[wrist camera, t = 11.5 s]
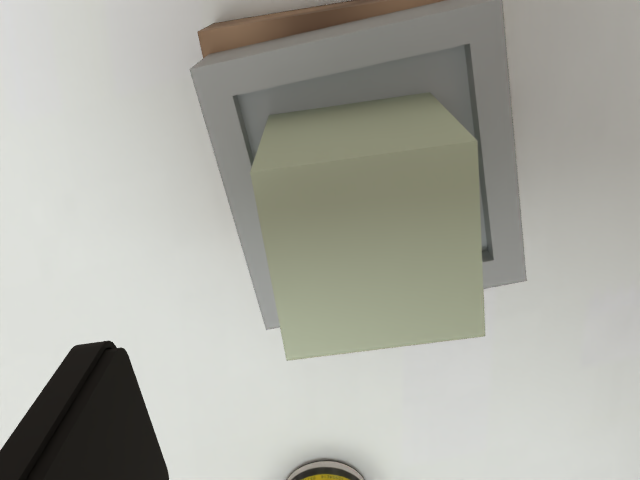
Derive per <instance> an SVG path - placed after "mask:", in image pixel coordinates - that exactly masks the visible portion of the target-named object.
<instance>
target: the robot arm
mask: <svg viewBox="0 0 640 480" xmlns="http://www.w3.org/2000/svg"><path fill="white" fill-rule="evenodd" d="M0 480H169V475H168V470H167V467H166V464H165V461H164V458H163V455H162V452H161V449H160V446H159V443H158V441H157V438H156V435H155V432H154V429H153V426H152V423H151V420H150V417H149V414H148V411H147V408H146V406H145V403H144V400H143V397H142V394H141V391H140V388H139V385H138V382H137V379H136V376H135V374H134V371H133V368H132V365H131V362H130V359H129V356H128V354H127V352H126V350H125V349H123V348H116V346H115V345H114V343H113V342H111V341H103V342H96V343H89V344H81V345H76V346H74V347H73V348H72V349H71V350H70V352H69V353H68V355H67V356H66V357H65V359H64V360H63V362H62V363H61V365H60V366H59V367H58V369H57V370H56V372H55V373H54V375H53V376H52V377H51V379H50V380H49V382H48V383H47V385H46V386H45V387H44V389H43V390H42V392H41V393H40V395H39V396H38V397H37V399H36V400H35V402H34V403H33V405H32V406H31V407H30V409H29V410H28V412H27V413H26V415H25V416H24V417H23V419H22V420H21V422H20V423H19V425H18V426H17V427H16V429H15V430H14V432H13V433H12V435H11V436H10V437H9V439H8V440H7V442H6V443H5V445H4V446H3V447H2V449H1V450H0Z"/></svg>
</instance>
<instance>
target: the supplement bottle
mask: <svg viewBox="0 0 640 480" xmlns="http://www.w3.org/2000/svg"><path fill="white" fill-rule="evenodd" d="M287 480H364V479H363V478H362V477H361V475H360V474H359V473H358V472H357V471H356V470H354V469H353V468H351V467H349V466H347V465H345V464H342V463H338V462H332V461H321V462H315V463H311V464H307V465H305V466H303V467H301V468H299V469H297V470H296V471H295V472H294V473H292V474H291V475H290V477H289V478H288V479H287Z"/></svg>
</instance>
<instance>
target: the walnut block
mask: <svg viewBox="0 0 640 480" xmlns="http://www.w3.org/2000/svg"><path fill="white" fill-rule="evenodd" d="M441 1H445V0H353V1H347V2H341V3H335V4H329V5H322V6H316V7H310V8H304V9H298V10H292V11H286V12H280V13H274V14H268V15H262V16H256V17H250V18H243V19H237V20H231V21H225V22H219V23H214V24H212V25H210V26H208V27H206V28H204V29H202V30H200V31H198V36H199V41H200V45H201V50H202V54H203V59H204V58H205V57H206V56H207V55H209V54H212V53H217V52H221V51H225V50H230V49H234V48H239V47H243V46H247V45H252V44H256V43H261V42H265V41H269V40H274V39H278V38H283V37H287V36H291V35H296V34H300V33H304V32H309V31H313V30H318V29H322V28H326V27H331V26H335V25H340V24H344V23H348V22H353V21H357V20H362V19H366V18H370V17H375V16H379V15H384V14H388V13H392V12H397V11H401V10H405V9H410V8H414V7H419V6H423V5H427V4H432V3H436V2H441Z"/></svg>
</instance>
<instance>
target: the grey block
mask: <svg viewBox="0 0 640 480" xmlns="http://www.w3.org/2000/svg"><path fill="white" fill-rule="evenodd" d="M190 72H191V76H192V79H193V83H194V86H195V89H196V93H197V96H198V100H199V103H200V106H201V110H202V113H203V117H204V120H205V123H206V127H207V130H208V134H209V137H210V140H211V144H212V147H213V151H214V154H215V157H216V161H217V164H218V168H219V171H220V174H221V178H222V181H223V185H224V188H225V191H226V195H227V198H228V202H229V205H230V208H231V212H232V215H233V219H234V222H235V225H236V229H237V232H238V236H239V239H240V242H241V246H242V249H243V253H244V256H245V259H246V263H247V266H248V270H249V273H250V276H251V280H252V283H253V287H254V290H255V293H256V297H257V300H258V304H259V307H260V310H261V314H262V317H263V321H264V324H265V327H266V330H268V329H274V328H279V327H280V324H279V319H278V314H277V309H276V303H275V298H274V293H273V288H272V283H271V278H270V273H269V267H268V262H267V257H266V252H265V247H264V242H263V237H262V232H261V226H260V221H259V216H258V211H257V206H256V201H255V196H254V190H253V185H252V180H251V175H250V171H251V168H252V165H253V162H254V159H255V156H256V153H257V150H258V147H259V144H260V141H261V138H262V135H263V132H264V129H265V126H266V123H267V120H268V117H269V115H274V114H281V113H288V112H295V111H302V110H309V109H316V108H323V107H330V106H337V105H344V104H351V103H358V102H365V101H372V100H379V99H386V98H393V97H400V96H407V95H414V94H421V93H428V92H430V93H431V94H432V95H433V96H434V97H435V98H436V99H437V100H438V101H439V102H440V103H441V104H442V105H443V106H444V107H445V108H446V109H447V110H448V111H449V112H450V113H451V114H452V115H453V116H454V117H455V118H456V119H457V120H458V121H459V122H460V123H461V124H462V125H463V126H464V127H465V129H466V130H467V131H468V132H469V133H470V134H471V135H472V136H473V137H474V138H475V139H476V140H477V141H478V164H479V190H480V216H481V242H482V268H483V289H485V288H491V287H496V286H501V285H507V284H512V283H517V282H523V281H527V278H526V267H525V255H524V244H523V232H522V221H521V210H520V198H519V187H518V176H517V164H516V153H515V141H514V130H513V119H512V107H511V96H510V84H509V73H508V62H507V50H506V39H505V27H504V16H503V5H502V0H445V1H441V2H436V3H432V4H427V5H423V6H419V7H414V8H410V9H405V10H401V11H397V12H392V13H388V14H384V15H379V16H375V17H370V18H366V19H362V20H357V21H353V22H348V23H344V24H340V25H335V26H331V27H326V28H322V29H318V30H313V31H309V32H304V33H300V34H296V35H291V36H287V37H283V38H278V39H274V40H269V41H265V42H261V43H256V44H252V45H247V46H243V47H239V48H234V49H230V50H225V51H221V52H217V53H212V54H209V55H207V56H206V57H205V58H204V59H202V60H201V61H200V62H198V63H197V64H196V65H195V66H193V67H192V68H191V69H190Z"/></svg>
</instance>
